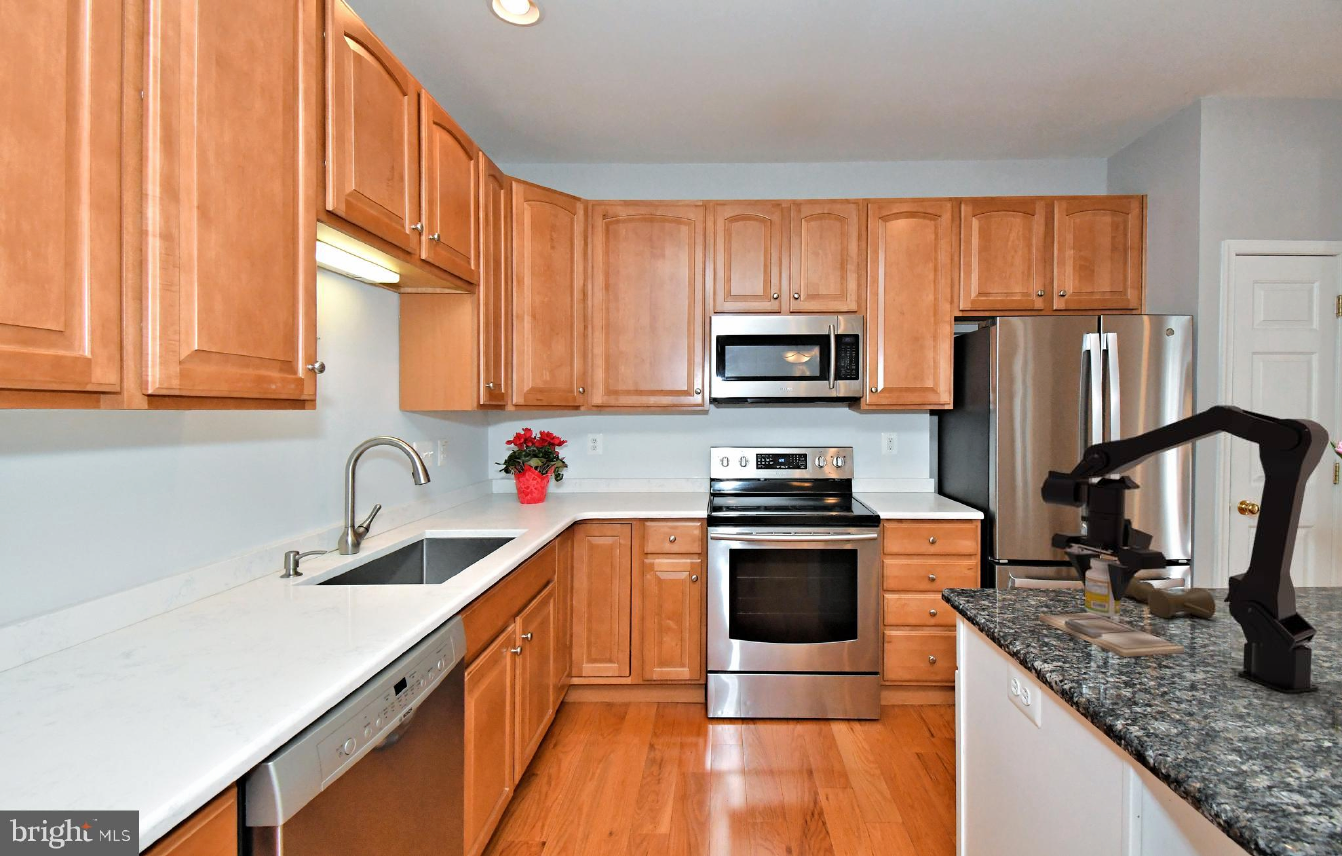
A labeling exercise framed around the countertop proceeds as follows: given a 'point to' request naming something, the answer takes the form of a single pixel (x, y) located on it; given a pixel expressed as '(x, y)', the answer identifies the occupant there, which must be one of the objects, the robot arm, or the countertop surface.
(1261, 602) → the robot arm
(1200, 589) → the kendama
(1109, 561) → the supplement bottle
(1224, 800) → the countertop surface
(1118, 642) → the beige rectangular board
